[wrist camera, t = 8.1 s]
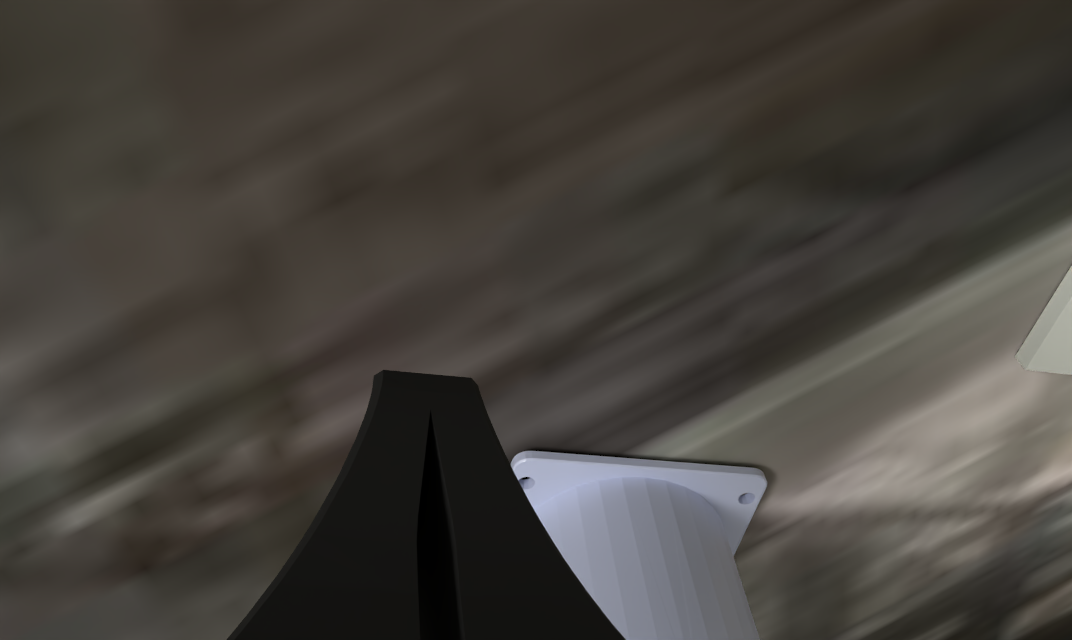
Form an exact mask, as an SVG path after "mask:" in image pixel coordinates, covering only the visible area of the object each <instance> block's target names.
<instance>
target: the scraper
mask: <svg viewBox="0 0 1072 640" xmlns="http://www.w3.org/2000/svg"><path fill="white" fill-rule="evenodd" d="M1015 358H1016V359H1017V360H1018V362H1019V363H1020V364H1021V366H1022V367H1023V368H1024V369H1025V370H1030V371H1039V372H1049V373H1059V374H1068V375H1072V266H1071V267H1070V269H1069V271H1068V272H1067V274H1066V275H1065V277H1064V279H1063V280H1062V282H1061V283H1060V285H1059V287H1058V288H1057V290H1056V291H1055V293H1054V295H1053V296H1052V298H1051V300H1050V301H1049V303H1048V304H1047V306H1046V308H1045V309H1044V311H1043V312H1042V314H1041V316H1040V317H1039V319H1038V320H1037V322H1036V324H1035V325H1034V327H1033V328H1032V330H1031V332H1030V333H1029V335H1028V336H1027V338H1026V340H1025V341H1024V343H1023V344H1022V346H1021V348H1020V349H1019V351H1018V353H1017V354H1016V356H1015Z"/></svg>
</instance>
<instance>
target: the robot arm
mask: <svg viewBox="0 0 1072 640" xmlns="http://www.w3.org/2000/svg"><path fill="white" fill-rule="evenodd" d="M523 477H530V478H529V479H525V480H523V479H521V478H523ZM766 488H767V481H766V478H765V475H764V473H763V471H761V470H760V469H757V468H750V467H737V466H724V465H711V464H698V463H685V462H672V461H659V460H646V459H633V458H620V457H607V456H594V455H581V454H568V453H555V452H542V451H524V452H521V453H519V454H517V455H516V456H515V457H514V458H513V460H512V462H511V465H510V463H509V461H508V459H507V457H506V455H505V453H504V451H503V449H502V446H501V444H500V442H499V440H498V437H497V435H496V433H495V431H494V428H493V426H492V424H491V421H490V419H489V416H488V414H487V411H486V409H485V406H484V403H483V400H482V397H481V395H480V391H479V388H478V385H477V384H476V383H475V382H474V381H473V379H472V378H466V377H455V376H444V375H433V374H422V373H411V372H400V371H389V370H383V371H381V372H379V373H378V374H376V375H374V380H373V388H372V393H371V397H370V401H369V405H368V408H367V411H366V414H365V417H364V420H363V422H362V425H361V427H360V430H359V432H358V435H357V437H356V440H355V442H354V444H353V446H352V448H351V450H350V453H349V455H348V457H347V459H346V461H345V463H344V465H343V467H342V470H341V472H340V474H339V476H338V478H337V480H336V481H335V483H334V485H333V487H332V489H331V490H330V492H329V494H328V496H327V497H326V499H325V501H324V503H323V505H322V506H321V508H320V510H319V512H318V513H317V515H316V517H315V519H314V520H313V522H312V524H311V525H310V527H309V529H308V530H307V532H306V533H305V535H304V536H303V538H302V540H301V541H300V543H299V544H298V546H297V547H296V549H295V550H294V552H293V553H292V555H291V556H290V558H289V559H288V561H287V562H286V563H285V565H284V566H283V568H282V569H281V571H280V572H279V573H278V575H277V576H276V578H275V579H274V580H273V582H272V583H271V584H270V586H269V587H268V588H267V590H266V591H265V592H264V594H263V595H262V596H261V597H260V599H259V600H258V601H257V603H256V604H255V605H254V607H253V608H252V609H251V611H250V612H249V613H248V614H247V616H246V617H245V618H244V619H243V621H242V622H241V623H240V624H239V625H238V627H237V628H236V629H235V630H234V632H233V633H232V634H231V635H230V636H229V637H228V639H227V640H760V638H759V635H758V632H757V629H756V625H755V622H754V619H753V616H752V613H751V610H750V607H749V604H748V601H747V597H746V594H745V591H744V588H743V585H742V582H741V579H740V576H739V573H738V570H737V566H736V563H735V560H734V554H735V552H736V550H737V548H738V546H739V544H740V542H741V540H742V538H743V536H744V534H745V531H746V529H747V527H748V525H749V523H750V521H751V519H752V517H753V515H754V513H755V511H756V508H757V506H758V504H759V502H760V500H761V498H762V496H763V494H764V492H765V490H766ZM744 493H747V494H745V495H742V494H744Z"/></svg>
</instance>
